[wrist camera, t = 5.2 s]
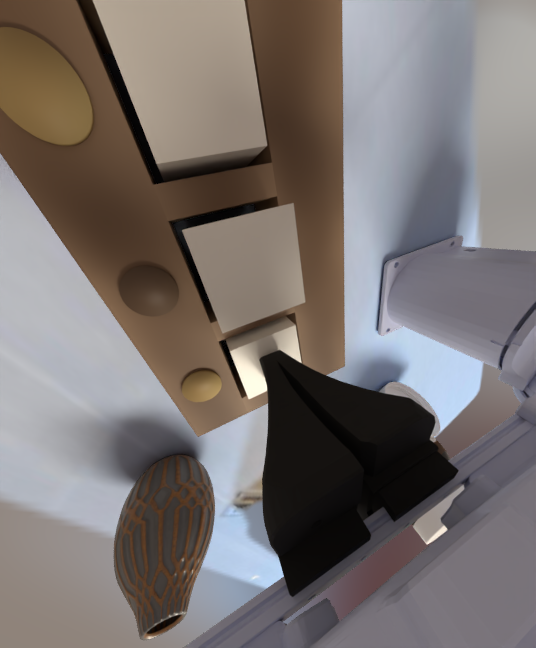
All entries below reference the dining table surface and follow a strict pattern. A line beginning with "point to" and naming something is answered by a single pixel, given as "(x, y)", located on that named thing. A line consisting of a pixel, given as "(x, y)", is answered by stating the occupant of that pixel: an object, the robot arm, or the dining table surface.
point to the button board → (180, 186)
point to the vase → (164, 541)
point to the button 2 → (261, 351)
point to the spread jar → (431, 522)
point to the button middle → (249, 265)
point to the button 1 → (189, 81)
